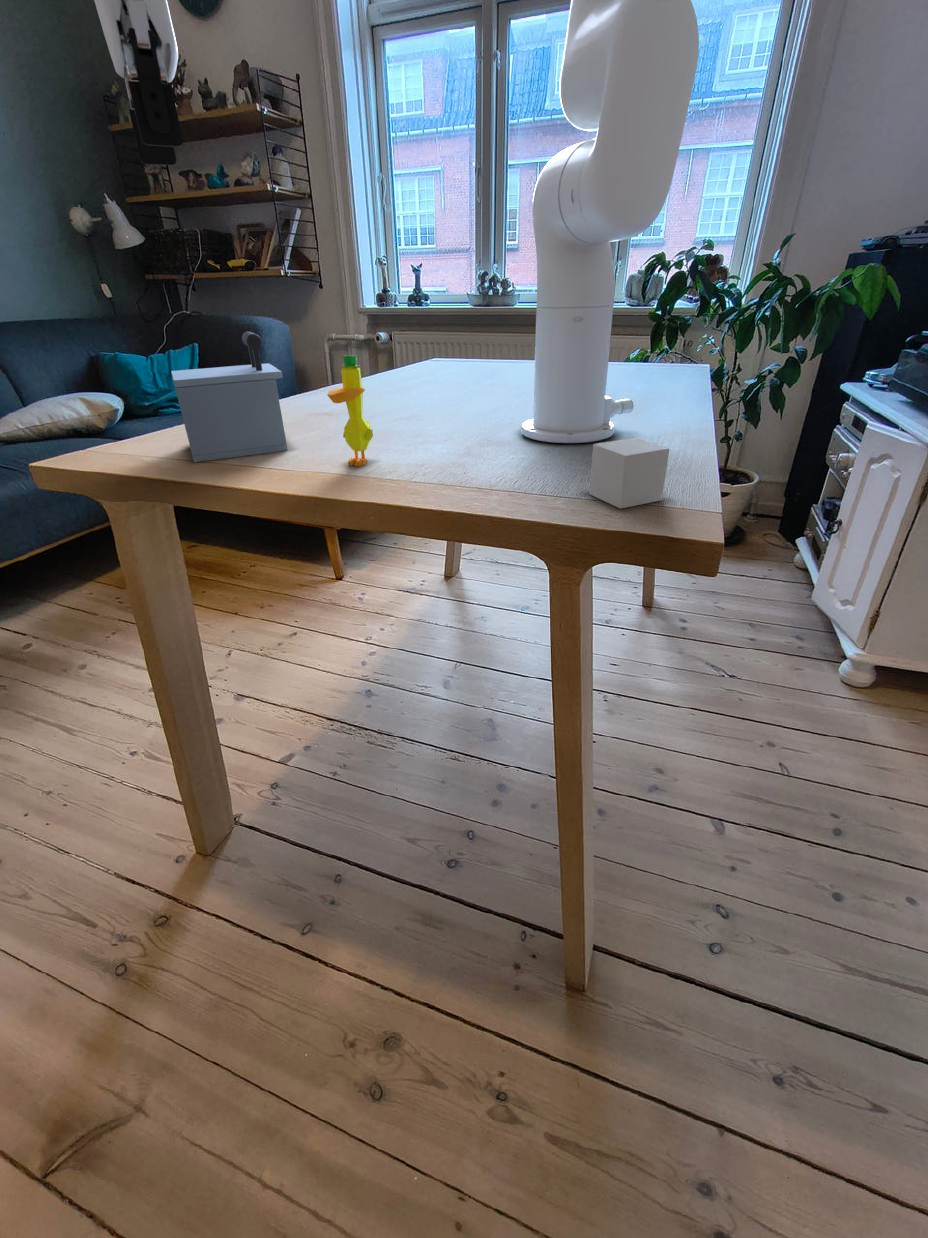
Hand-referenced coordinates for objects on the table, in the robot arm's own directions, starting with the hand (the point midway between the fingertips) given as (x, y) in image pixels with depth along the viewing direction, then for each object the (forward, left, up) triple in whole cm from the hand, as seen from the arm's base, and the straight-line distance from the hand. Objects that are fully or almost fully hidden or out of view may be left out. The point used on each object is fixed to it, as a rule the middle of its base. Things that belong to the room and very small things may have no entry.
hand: (161, 155), depth 54 cm
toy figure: (-14, +3, -30) cm, 33 cm away
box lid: (-2, -13, -21) cm, 25 cm away
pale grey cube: (-34, +28, -30) cm, 53 cm away
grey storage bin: (-2, -13, -30) cm, 32 cm away
